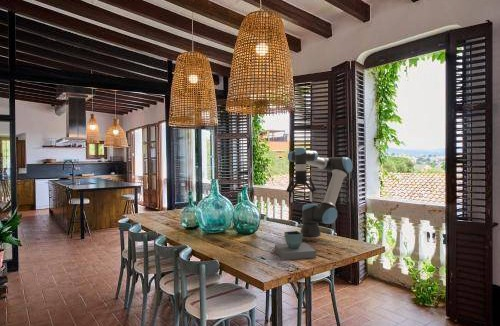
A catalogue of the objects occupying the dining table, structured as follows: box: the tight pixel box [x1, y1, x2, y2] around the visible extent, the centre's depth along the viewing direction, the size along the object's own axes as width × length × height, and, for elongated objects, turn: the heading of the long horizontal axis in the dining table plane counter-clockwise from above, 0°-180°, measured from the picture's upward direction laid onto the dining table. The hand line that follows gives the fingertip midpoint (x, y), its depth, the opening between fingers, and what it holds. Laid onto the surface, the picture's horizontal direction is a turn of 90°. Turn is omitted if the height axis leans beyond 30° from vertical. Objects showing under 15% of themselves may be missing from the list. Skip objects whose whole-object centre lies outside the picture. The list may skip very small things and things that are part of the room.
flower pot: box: [283, 230, 303, 248], centre depth 206 cm, size 9×9×9 cm
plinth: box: [274, 242, 317, 261], centre depth 206 cm, size 20×20×4 cm
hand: (301, 201), depth 230 cm, fingers open, 13 cm apart
